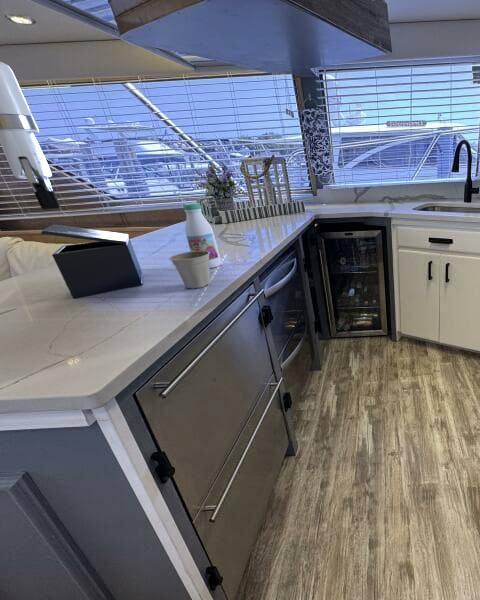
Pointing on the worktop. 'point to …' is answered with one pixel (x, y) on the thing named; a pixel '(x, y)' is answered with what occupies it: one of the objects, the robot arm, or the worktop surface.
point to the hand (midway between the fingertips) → (51, 208)
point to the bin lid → (85, 234)
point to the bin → (98, 267)
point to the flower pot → (193, 268)
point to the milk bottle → (200, 234)
